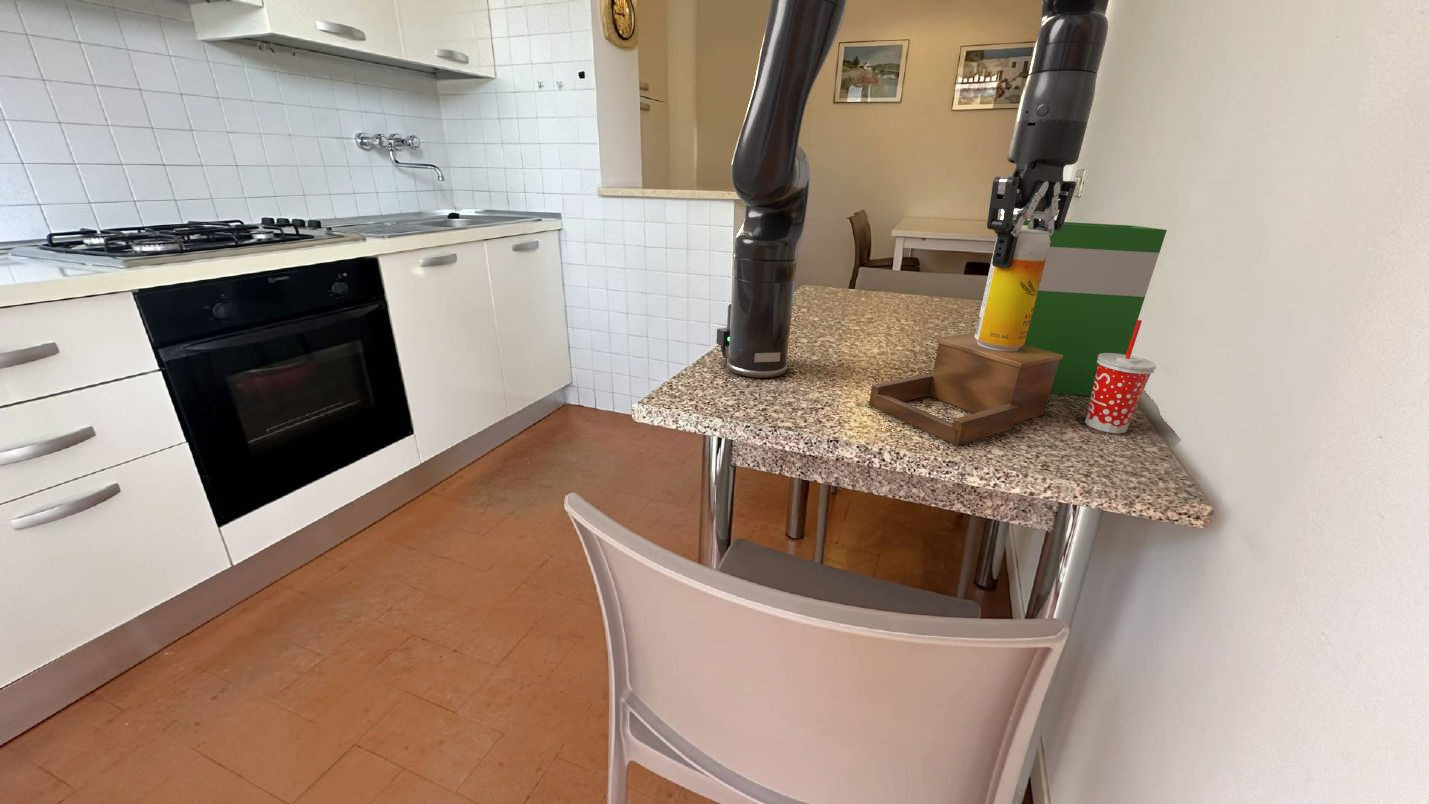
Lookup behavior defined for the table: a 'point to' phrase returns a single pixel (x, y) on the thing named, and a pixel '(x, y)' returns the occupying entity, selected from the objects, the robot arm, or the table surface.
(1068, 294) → the hardback book
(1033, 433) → the table surface
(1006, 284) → the beer can
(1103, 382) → the beverage cup
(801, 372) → the table surface
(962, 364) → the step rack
